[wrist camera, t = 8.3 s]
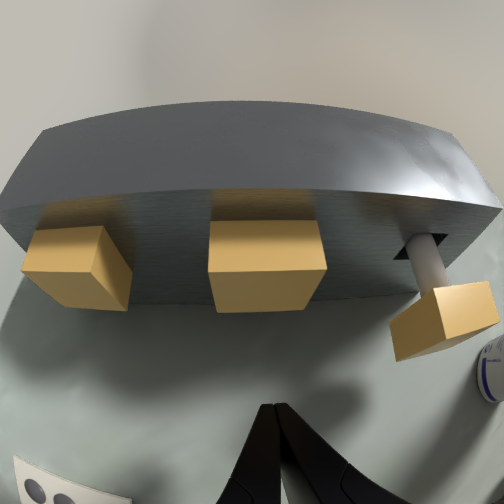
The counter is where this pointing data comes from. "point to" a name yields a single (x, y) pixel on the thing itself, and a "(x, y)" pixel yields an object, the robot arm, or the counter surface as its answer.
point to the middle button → (264, 264)
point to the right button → (439, 306)
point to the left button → (79, 268)
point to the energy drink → (492, 370)
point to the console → (252, 190)
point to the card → (56, 488)
